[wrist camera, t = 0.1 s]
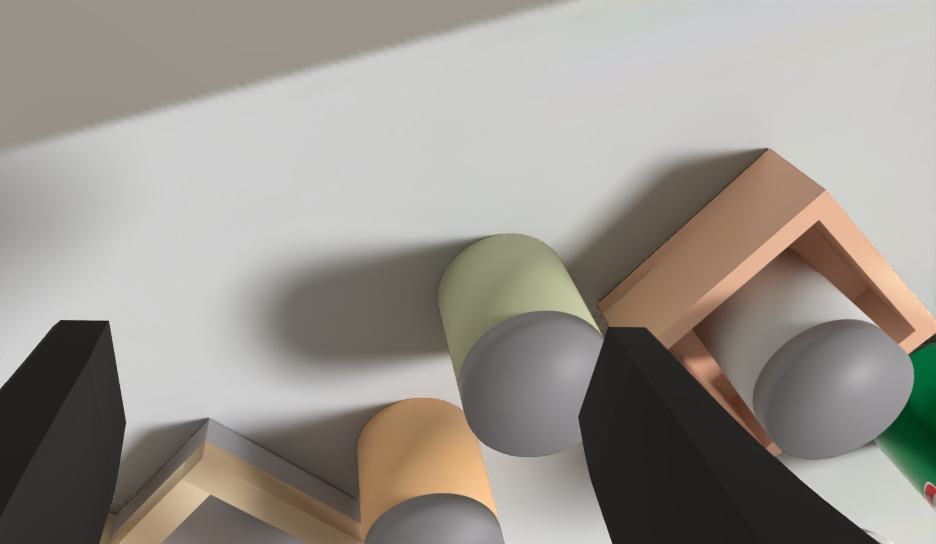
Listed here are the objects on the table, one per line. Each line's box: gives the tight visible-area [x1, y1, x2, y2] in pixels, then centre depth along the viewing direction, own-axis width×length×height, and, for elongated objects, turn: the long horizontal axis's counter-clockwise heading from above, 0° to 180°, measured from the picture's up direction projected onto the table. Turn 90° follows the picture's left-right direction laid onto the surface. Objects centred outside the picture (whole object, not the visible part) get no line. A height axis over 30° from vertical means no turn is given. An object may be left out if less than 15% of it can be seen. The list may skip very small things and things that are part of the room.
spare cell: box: [438, 234, 604, 457], centre depth 22 cm, size 4×4×5 cm
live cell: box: [357, 398, 505, 544], centre depth 24 cm, size 4×4×5 cm
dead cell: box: [693, 247, 914, 459], centre depth 23 cm, size 4×4×5 cm
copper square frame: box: [597, 148, 936, 457], centre depth 24 cm, size 7×7×3 cm
